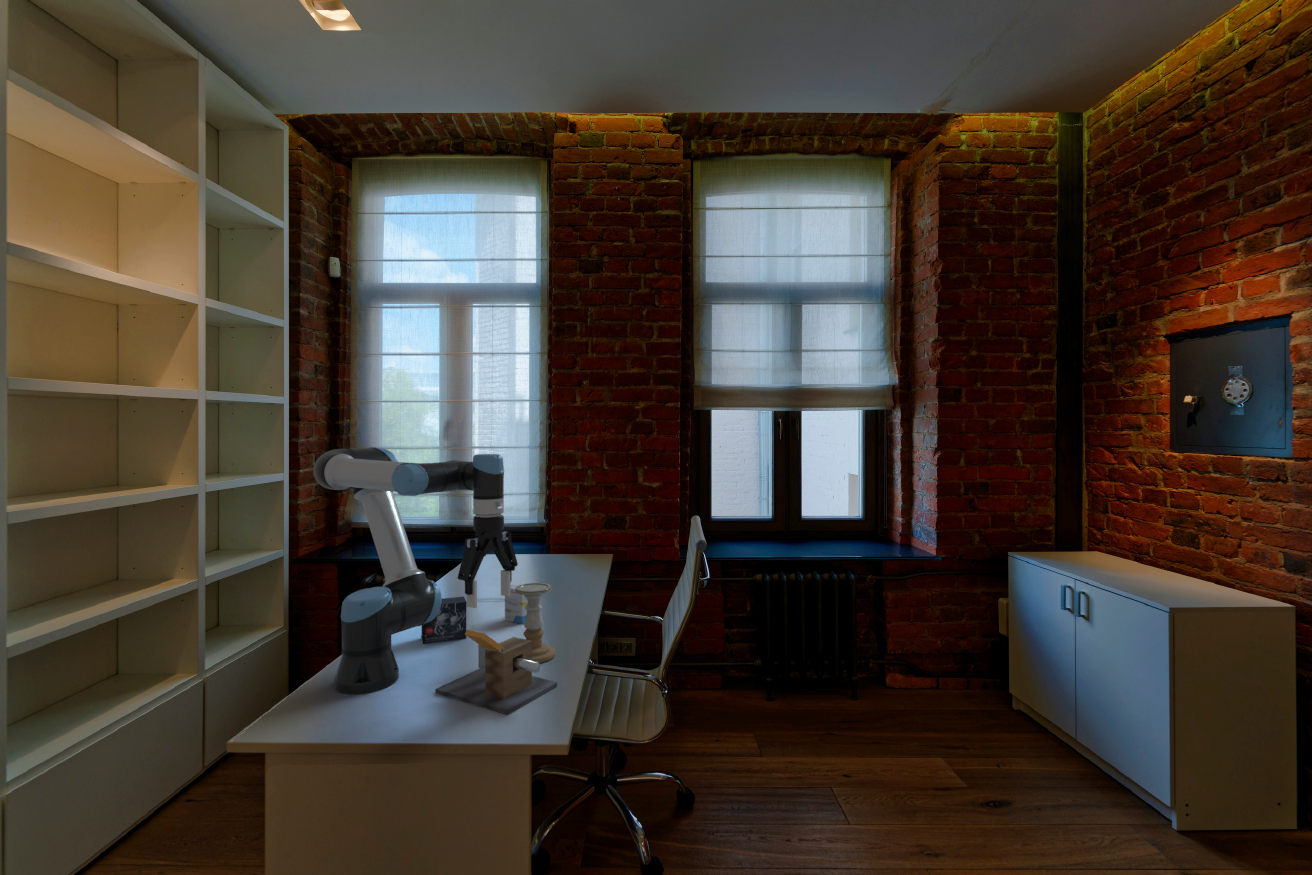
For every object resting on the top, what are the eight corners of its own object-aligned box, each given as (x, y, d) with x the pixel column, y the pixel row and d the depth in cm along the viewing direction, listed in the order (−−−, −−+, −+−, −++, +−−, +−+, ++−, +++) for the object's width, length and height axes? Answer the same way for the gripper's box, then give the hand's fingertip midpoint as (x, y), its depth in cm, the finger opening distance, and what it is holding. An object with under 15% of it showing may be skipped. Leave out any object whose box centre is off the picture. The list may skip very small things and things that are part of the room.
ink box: (539, 617, 213) (539, 584, 213) (522, 624, 206) (521, 589, 206) (521, 613, 218) (521, 581, 218) (504, 620, 211) (503, 586, 210)
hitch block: (435, 692, 152) (435, 644, 152) (488, 668, 168) (488, 624, 168) (507, 714, 140) (507, 662, 140) (557, 686, 156) (557, 639, 156)
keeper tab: (464, 634, 143) (467, 629, 144) (485, 649, 149) (488, 644, 150) (482, 638, 141) (484, 633, 141) (502, 653, 146) (505, 648, 147)
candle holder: (510, 665, 170) (509, 593, 170) (513, 650, 182) (513, 582, 182) (555, 662, 172) (554, 591, 171) (555, 647, 184) (555, 580, 184)
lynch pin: (475, 669, 154) (475, 645, 154) (489, 662, 159) (489, 639, 159) (529, 683, 146) (529, 658, 146) (543, 676, 150) (543, 651, 150)
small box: (422, 645, 187) (421, 606, 186) (420, 638, 193) (420, 600, 193) (467, 638, 192) (466, 600, 192) (464, 632, 198) (464, 595, 198)
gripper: (463, 522, 143) (464, 615, 143) (531, 510, 163) (531, 592, 164) (441, 519, 147) (442, 610, 147) (510, 508, 167) (510, 588, 167)
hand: (489, 601), depth 155 cm, fingers open, 11 cm apart
